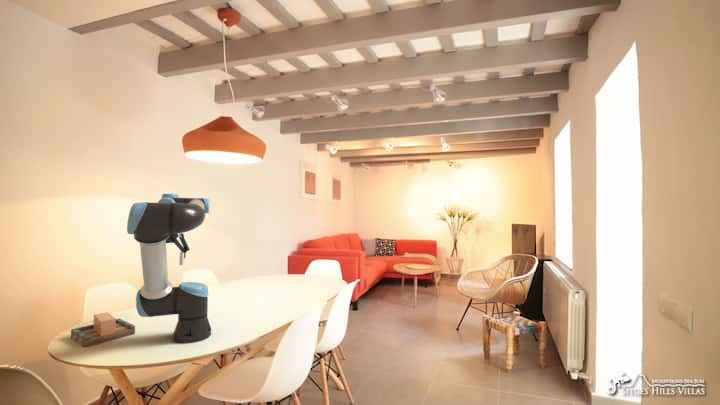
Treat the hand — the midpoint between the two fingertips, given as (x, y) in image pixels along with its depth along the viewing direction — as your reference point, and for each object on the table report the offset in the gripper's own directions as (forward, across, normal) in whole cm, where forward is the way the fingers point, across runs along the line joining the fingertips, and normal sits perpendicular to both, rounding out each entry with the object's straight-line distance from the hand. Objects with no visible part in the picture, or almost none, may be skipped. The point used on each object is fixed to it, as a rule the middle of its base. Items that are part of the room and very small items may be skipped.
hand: (168, 266), depth 170 cm
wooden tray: (+26, +27, -1) cm, 38 cm away
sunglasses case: (+24, +27, 0) cm, 36 cm away
